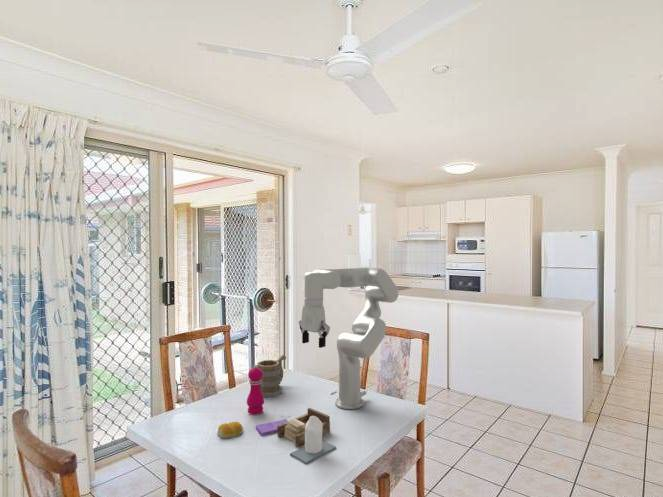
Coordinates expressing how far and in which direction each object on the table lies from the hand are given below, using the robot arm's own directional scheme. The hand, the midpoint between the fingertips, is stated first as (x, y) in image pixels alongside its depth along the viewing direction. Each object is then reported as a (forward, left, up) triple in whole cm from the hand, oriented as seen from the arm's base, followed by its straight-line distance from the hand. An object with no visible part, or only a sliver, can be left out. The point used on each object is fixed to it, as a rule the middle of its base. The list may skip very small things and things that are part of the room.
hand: (313, 344), depth 160 cm
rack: (+11, +7, -30) cm, 33 cm away
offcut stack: (+15, +7, -30) cm, 34 cm away
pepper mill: (+12, -23, -31) cm, 40 cm away
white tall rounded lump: (+17, +18, -30) cm, 39 cm away
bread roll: (+30, -14, -31) cm, 45 cm away
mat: (+17, +18, -30) cm, 39 cm away
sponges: (+16, -5, -31) cm, 35 cm away
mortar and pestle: (-9, -38, -31) cm, 50 cm away
